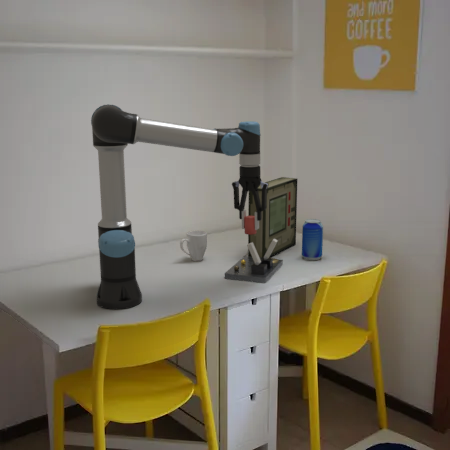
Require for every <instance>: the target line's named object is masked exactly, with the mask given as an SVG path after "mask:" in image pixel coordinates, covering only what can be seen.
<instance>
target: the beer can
mask: <svg viewBox="0 0 450 450" xmlns="http://www.w3.org/2000/svg"><path fill="white" fill-rule="evenodd" d="M301 231H302V236H301V237H302V238H301V256H302V258H303V259H304V260H307V261H319V260H320V259H321V258H322V256H323V246H324V245H323V244H324V241H323V240H324V225H323V223H322V220H321V219H317V218H308V219H305V220H304V223H303V224H302V230H301Z"/></svg>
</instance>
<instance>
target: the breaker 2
mask: <svg viewBox="0 0 450 450" xmlns="http://www.w3.org/2000/svg"><path fill="white" fill-rule="evenodd" d="M277 241H278V240H276V239H273V240H272V242H271V244H270V246H269V248H268V250H267V252H266V254H265V256H264V259H265V260H267V259H268V258H269V257H270V255H271V253H272V251H273V249H274V247H275V245H276V243H277Z"/></svg>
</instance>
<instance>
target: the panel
mask: <svg viewBox="0 0 450 450" xmlns="http://www.w3.org/2000/svg"><path fill="white" fill-rule="evenodd" d="M259 258H260V260H261V263H260V264H259V265H258V266H257V265H255V262H254V260H253V258H252V257H250V256H248V255H244V256H243V257H242V258H241V259H239V260H238V261H237V262H236V263H234V265H232V266H231V267H230V268H229V269H228V270H227V271H225V272H224V279H226V278H228V279H227V280H235V281H237V280H238V281H243V280H244V282H252V281H253V283H259V284H260V283H261V284H266V283H268V282H269V280H270V279H271V278H272V277H273V275H275V273H276V272H278V270H279V269H280V268H281V267H282V266H283V265H284V264H283V262H284V261H283V259H280V258H279V259H278V258H273V257H272V258H268V259H267V260H265V259H264V258H262V257H259Z"/></svg>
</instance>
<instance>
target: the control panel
mask: <svg viewBox="0 0 450 450" xmlns="http://www.w3.org/2000/svg"><path fill="white" fill-rule="evenodd" d="M264 183H268V184H269V185H268V188H267V209H266V210H264V211H262V219H261V220H260V221H259V229H257V233H256V234H252V235H249V234H247V235H248V236H247V237H248V238H247V239H248V241H247V245H248V244H249V243H252V242H253V244H254V246H255V248H256V251H257V253H258V255H259V257H262V258H264V256H265V254H266V252H267V250H268V248H269V246H270V244H271V242H272V240H273V239H276V240H278V241H277V243H276V245H275V247H274V249H273V251H272V253H271V255H270V257H269V258H273V257H276V256H277V255H279V254H281V253H283V252H285V251H287V250H289V249H290V248H292V247H294V246H296V243H297V242H296V241H297V211H298V210H297V208H298V207H297V206H298V205H297V204H298V203H297V202H298V178H297V177H296V178H295V177H285V176H281V177H278V178H276V179H275V178H274V179H272V180H269V181H268V180H267V181H266V182H264ZM258 191H259V192H258V193H259V198H260V203H261V201H262V188H261V185H260V186H259V187H258ZM247 210H248V215H247V216H255V212H256V211H257V210H256V205H255V201H254V196H253V194H252V191H248V209H247ZM247 256H250V257H252V255H251V253H250V251H249V248H248V247H247Z"/></svg>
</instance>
